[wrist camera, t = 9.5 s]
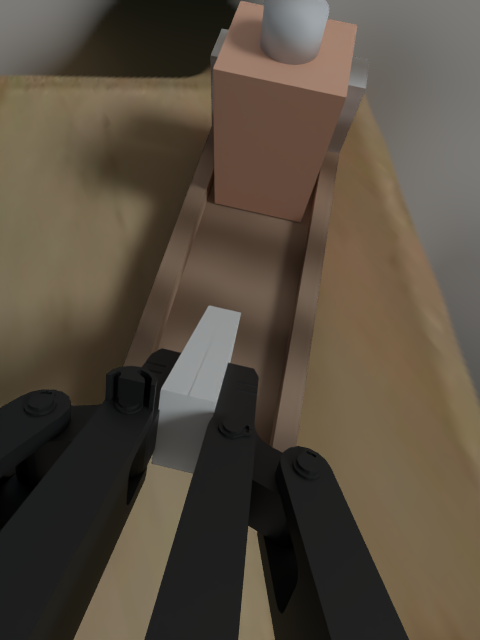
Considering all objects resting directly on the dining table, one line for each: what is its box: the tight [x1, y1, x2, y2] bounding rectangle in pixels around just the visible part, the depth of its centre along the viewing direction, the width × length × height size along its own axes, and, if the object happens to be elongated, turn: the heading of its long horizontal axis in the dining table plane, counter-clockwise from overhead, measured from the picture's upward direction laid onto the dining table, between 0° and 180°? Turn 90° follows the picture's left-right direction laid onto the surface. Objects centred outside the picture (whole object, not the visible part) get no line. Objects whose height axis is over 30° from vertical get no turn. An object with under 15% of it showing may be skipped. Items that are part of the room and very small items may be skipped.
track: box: [123, 29, 369, 453], centre depth 20 cm, size 25×10×8 cm, turn 167°
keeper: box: [213, 0, 357, 222], centre depth 20 cm, size 6×6×11 cm
